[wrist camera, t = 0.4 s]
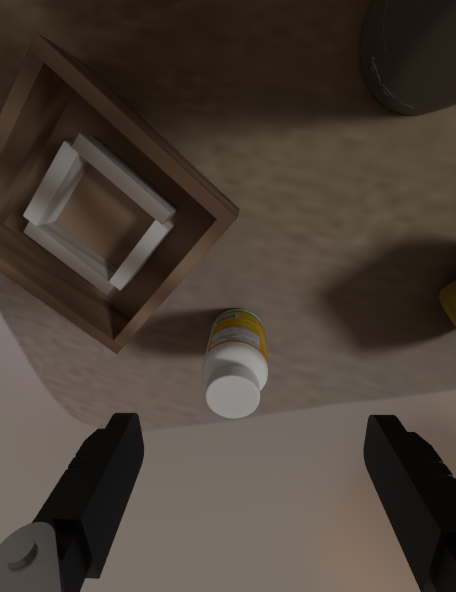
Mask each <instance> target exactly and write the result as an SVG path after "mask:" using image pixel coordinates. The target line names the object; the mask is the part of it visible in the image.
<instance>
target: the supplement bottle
mask: <svg viewBox="0 0 456 592" xmlns="http://www.w3.org/2000/svg"><path fill="white" fill-rule="evenodd" d="M202 375H203V379H204V382H205V384H206V386H207V387H206V393H205V397H206V401H207V404H208V406H209V407H210V408H211V409H212V410H213V411H214V412H215V413H217V414H218V415H220V416H223V417H227V418H241V417H245V416H247V415H249V414H251V413H252V412H253V411H254V410H255V409H256V408H257V406H258V404H259V401H260V391H261V390H262V388H263V387H264V385H265V383H266V381H267V376H268V366H267V354H266V341H265V332H264V327H263V324H262V322H261V321H260V319H259V318H258V317H257V316H256V315H255V314H253V313H252V312H250V311H247V310H244V309H231V310H228V311H225V312H223V313H222V314H220V315H219V316H218V317H217V318H216V320H215V321H214V323H213V326H212V330H211V333H210V338H209V342H208V346H207V350H206V354H205V358H204V362H203V367H202Z"/></svg>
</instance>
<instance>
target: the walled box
mask: <svg viewBox="0 0 456 592" xmlns="http://www.w3.org/2000/svg"><path fill="white" fill-rule="evenodd" d="M238 213H239V209H238V208H237V207H236V206H235V205H234V204H233V203H232V202H231V201H230V200H229V199H228V198H227V197H226V196H225V195H223V194H222V193H221V192H220V191H219V190H218V189H217V188H216V187H215V186H214V185H213V184H212V183H211V182H210V181H209V180H207V179H206V178H205V177H204V176H203V175H202V174H201V173H200V172H199V171H198V170H197V169H196V168H195V167H194V166H192V165H191V164H190V163H189V162H188V161H187V160H186V159H185V158H184V157H183V156H182V155H181V154H180V153H179V152H178V151H176V150H175V149H174V148H173V147H172V146H171V145H170V144H169V143H168V142H167V141H166V140H165V139H164V138H163V137H162V136H160V135H159V134H158V133H157V132H156V131H155V130H154V129H153V128H152V127H151V126H150V125H149V124H148V123H147V122H146V121H144V120H143V119H142V118H141V117H140V116H139V115H138V114H137V113H136V112H135V111H134V110H133V109H132V108H131V107H129V106H128V105H127V104H126V103H125V102H124V101H123V100H122V99H121V98H120V97H119V96H118V95H117V94H116V93H115V92H113V91H112V90H111V89H110V88H109V87H108V86H107V85H106V84H105V83H104V82H103V81H102V80H101V79H100V78H99V77H97V76H96V75H95V74H94V73H93V72H92V71H91V70H90V69H89V68H88V67H87V66H86V65H85V64H84V63H82V62H81V61H80V60H78V59H77V58H75V57H74V56H72V55H70V54H69V53H67V52H66V51H64V50H63V49H61V48H60V47H58V46H56V45H55V44H53V43H52V42H50V41H49V40H47V39H46V38H44V37H42V36H41V35H39V34H38V33H36V35H35V37H34V39H33V41H32V44H31V46H30V48H29V50H28V53H27V55H26V57H25V59H24V62H23V64H22V66H21V68H20V70H19V73H18V75H17V77H16V79H15V82H14V84H13V86H12V88H11V91H10V93H9V95H8V97H7V100H6V102H5V104H4V106H3V109H2V111H1V113H0V272H2V273H3V274H5V275H6V276H7V277H9V278H10V279H12V280H13V281H14V282H16V283H17V284H19V285H20V286H21V287H23V288H24V289H26V290H27V291H29V292H30V293H31V294H33V295H34V296H36V297H37V298H38V299H40V300H41V301H43V302H44V303H45V304H47V305H48V306H50V307H51V308H52V309H54V310H55V311H57V312H58V313H59V314H61V315H62V316H64V317H65V318H67V319H68V320H69V321H71V322H72V323H74V324H75V325H76V326H78V327H79V328H81V329H82V330H83V331H85V332H86V333H88V334H89V335H90V336H92V337H93V338H95V339H96V340H97V341H99V342H100V343H102V344H103V345H105V346H106V347H107V348H109V349H110V350H112V351H113V352H114V353H116V354H118V353H119V351H120V350H121V349H122V348H123V347H124V346H125V345H126V343H127V342H128V341H129V340H130V339H131V338H132V337H133V335H134V334H135V333H136V332H137V331H138V330H139V329H140V328H141V326H142V325H143V324H144V323H145V322H146V321H147V320H148V318H149V317H150V316H151V315H152V314H153V313H154V312H155V311H156V309H157V308H158V307H159V306H160V305H161V304H162V303H163V301H164V300H165V299H166V298H167V297H168V296H169V295H170V293H171V292H172V291H173V290H174V289H175V288H176V287H177V286H178V284H179V283H180V282H181V281H182V280H183V279H184V278H185V276H186V275H187V274H188V273H189V272H190V271H191V270H192V269H193V267H194V266H195V265H196V264H197V263H198V262H199V261H200V259H201V258H202V257H203V256H204V255H205V254H206V253H207V252H208V250H209V249H210V248H211V247H212V246H213V245H214V244H215V242H216V241H217V240H218V239H219V238H220V237H221V236H222V234H223V233H224V232H225V231H226V230H227V229H228V228H229V227H230V225H231V224H232V223H233V222H234V221H235V220H236V219H237V216H238Z"/></svg>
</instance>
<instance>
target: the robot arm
mask: <svg viewBox="0 0 456 592" xmlns="http://www.w3.org/2000/svg"><path fill="white" fill-rule="evenodd" d="M360 58H361V65H362V72H363V75H364V78H365V81H366V84H367V86H368V88H369V89H370V91H371V92H372V94H373V96H374V97H375V98H376V99H377V100H378V101H379V102H380V103H381V104H382V105H383V106H385V107H386V108H388V109H390V110H392V111H394V112H396V113H401V114H406V115H423V114H427V113H431V112H435V111H438V110H441V109H445V108H448V107H451V106H454V105H456V0H373V2H372V4H371V7H370V9H369V12H368V14H367V17H366V19H365V24H364V28H363V32H362V37H361V51H360ZM143 457H144V444H143V437H142V432H141V426H140V421H139V416H138V414H137V413H115V414H114V415H113V416H112V417H111V419H110V421H109V423H108V424H107V426H106V428H105V429H97V430H96V431H95V432H94V433H93V434H92V435H90V436H89V437H88V438H87V439H86V440H85V441H84V442H83V444H82V446H81V447H80V449H79V450H78V452H77V453H76V457H75V458H73V460H72V461H71V463H70V464H69V466H68V469H67V470H66V471H65V472H64V474H63V475H62V477H61V478H60V480H59V482H58V483H57V485H56V486H55V488H54V489H53V491H52V493H51V494H50V496H49V497H48V499H47V500H46V502H45V504H44V505H43V507H42V508H41V510H40V511H39V513H38V514H37V516H36V518H35V519H34V520H33V522H32V523H31V524H28V525H26V526H23V527H21V528H20V529H18V530H16V531H15V532H14V533H12V534H11V535H10V536H9V537H7V538H6V539H5V540H4V541H3V542H2V543H1V544H0V592H80V589H81V587H82V585H83V582H84V580H85V578H97V579H99V578H100V575H101V572H102V570H103V567H104V565H105V562H106V559H107V556H108V554H109V551H110V548H111V546H112V543H113V540H114V538H115V535H116V532H117V530H118V527H119V524H120V522H121V519H122V516H123V514H124V511H125V508H126V506H127V503H128V500H129V497H130V495H131V492H132V490H133V487H134V484H135V482H136V479H137V476H138V473H139V471H140V468H141V465H142V462H143ZM364 461H365V465H366V468H367V470H368V473H369V475H370V477H371V480H372V482H373V484H374V486H375V489H376V491H377V493H378V496H379V498H380V500H381V502H382V505H383V507H384V509H385V511H386V514H387V516H388V518H389V521H390V523H391V525H392V527H393V530H394V532H395V534H396V536H397V539H398V541H399V543H400V546H401V548H402V550H403V552H404V554H405V557H406V559H407V561H408V564H409V566H410V568H411V570H412V573H413V575H414V577H415V580H416V582H417V584H418V586H419V588H420V591H421V592H456V479H455V478H453V474H452V473H451V472H450V470H449V469H448V468H447V466H446V465H445V464H443V461H442V459H441V458H440V457H439V455H438V454H437V453H436V451H435V450H434V448H433V447H432V446H431V445H430V444H429V443H428V442H426V441H425V440H424V439H423V438H422V437H420V436H419V435H418V434H417V433H415V432H407V431H406V430H405V428H404V427H403V425H402V424H401V422H400V421H399V419H398V418H397V417H396V416H395V415H370V416H369V418H368V423H367V430H366V436H365V443H364Z"/></svg>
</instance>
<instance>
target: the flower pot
mask: <svg viewBox="0 0 456 592" xmlns="http://www.w3.org/2000/svg"><path fill="white" fill-rule="evenodd" d="M439 300H440V303H441V305H442V307H443V308H444V310H445V311H446V313H447V314H448V316H449V317H450V319H451V321H452V322H453V324H454V325H455V327H456V280H455V281H453V282H451V283H450V284H448V285H446V286H445V287H443V288H442V289H441V291H440V293H439Z"/></svg>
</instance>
